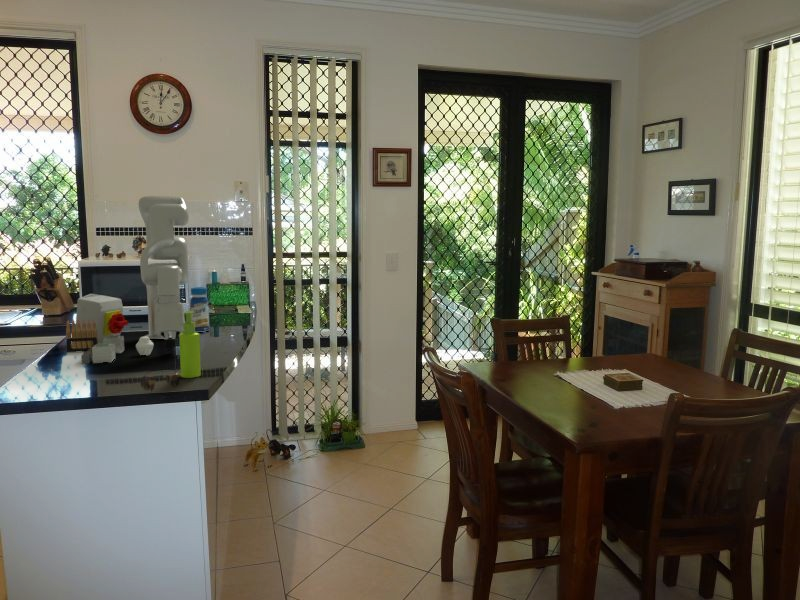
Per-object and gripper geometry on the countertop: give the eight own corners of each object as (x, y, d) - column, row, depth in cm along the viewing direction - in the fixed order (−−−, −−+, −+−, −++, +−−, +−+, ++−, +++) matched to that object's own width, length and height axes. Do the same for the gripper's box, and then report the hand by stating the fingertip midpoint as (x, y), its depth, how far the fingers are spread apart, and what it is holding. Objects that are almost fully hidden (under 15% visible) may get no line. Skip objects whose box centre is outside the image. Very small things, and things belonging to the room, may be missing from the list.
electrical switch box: (107, 351, 244) (111, 301, 241) (74, 344, 246) (77, 295, 244) (130, 345, 258) (134, 298, 255) (98, 338, 261) (102, 292, 258)
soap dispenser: (204, 372, 196) (201, 310, 194) (197, 377, 190) (195, 312, 188) (185, 372, 196) (182, 310, 194) (178, 377, 189) (175, 313, 187)
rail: (97, 351, 233) (96, 335, 232) (124, 350, 235) (123, 334, 235) (81, 364, 210) (80, 346, 209) (111, 362, 212) (110, 345, 212)
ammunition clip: (66, 352, 231) (64, 320, 230) (67, 351, 233) (65, 319, 232) (97, 350, 234) (96, 319, 233) (98, 349, 236) (97, 318, 235)
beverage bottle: (213, 330, 283) (211, 286, 281) (205, 333, 274) (203, 288, 272) (195, 330, 284) (193, 286, 282) (187, 333, 275) (185, 288, 273)
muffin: (148, 352, 230) (148, 334, 230) (157, 354, 226) (156, 335, 226) (132, 355, 226) (131, 336, 225) (141, 357, 222) (140, 337, 221)
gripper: (145, 301, 221) (147, 352, 222) (189, 300, 224) (191, 350, 226) (148, 299, 228) (150, 348, 230) (191, 298, 231) (193, 347, 233)
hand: (171, 349), depth 228 cm, fingers closed
